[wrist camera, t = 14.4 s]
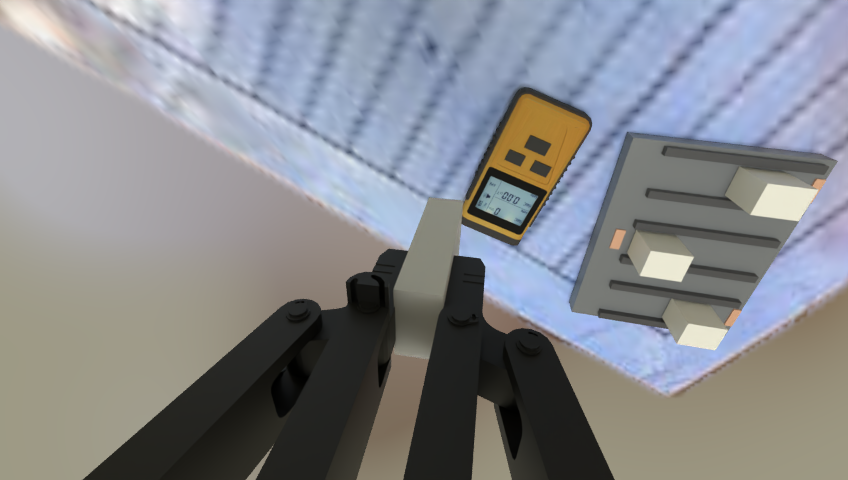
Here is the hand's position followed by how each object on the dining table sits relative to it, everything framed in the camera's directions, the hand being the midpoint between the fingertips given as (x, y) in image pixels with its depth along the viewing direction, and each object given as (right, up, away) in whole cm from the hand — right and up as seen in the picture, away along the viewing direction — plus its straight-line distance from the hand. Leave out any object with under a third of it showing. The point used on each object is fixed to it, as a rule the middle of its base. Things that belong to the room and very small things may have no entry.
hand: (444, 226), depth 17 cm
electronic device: (+10, +8, +26) cm, 28 cm away
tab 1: (+24, -1, +25) cm, 34 cm away
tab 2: (+30, -9, +28) cm, 42 cm away
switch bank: (+28, -1, +26) cm, 38 cm away
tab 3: (+31, +5, +20) cm, 37 cm away
